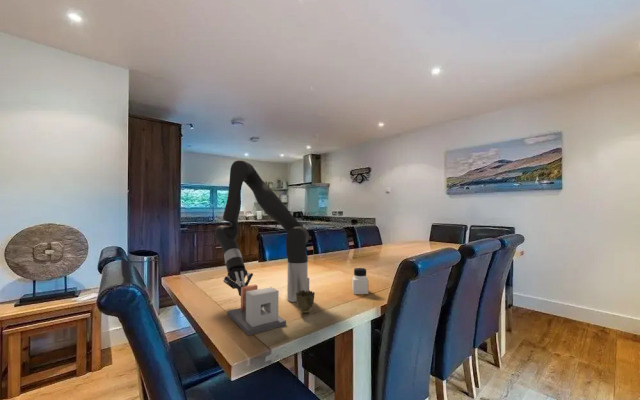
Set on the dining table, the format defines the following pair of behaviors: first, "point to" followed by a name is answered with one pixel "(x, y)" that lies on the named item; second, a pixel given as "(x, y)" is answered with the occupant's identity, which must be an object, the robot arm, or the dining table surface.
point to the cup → (305, 301)
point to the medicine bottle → (360, 281)
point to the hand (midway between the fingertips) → (243, 295)
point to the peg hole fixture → (258, 311)
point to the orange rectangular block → (243, 294)
